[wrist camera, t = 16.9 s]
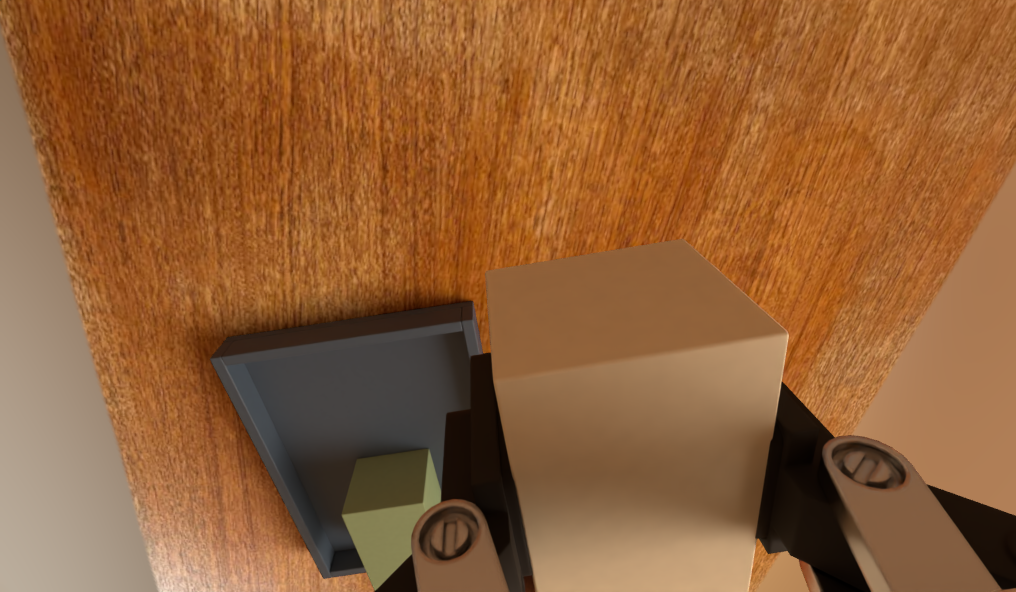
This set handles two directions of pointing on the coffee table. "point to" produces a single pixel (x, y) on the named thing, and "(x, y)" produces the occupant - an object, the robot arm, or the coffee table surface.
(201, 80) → the coffee table surface
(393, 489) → the sage pad
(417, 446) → the tray
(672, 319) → the cream pad
